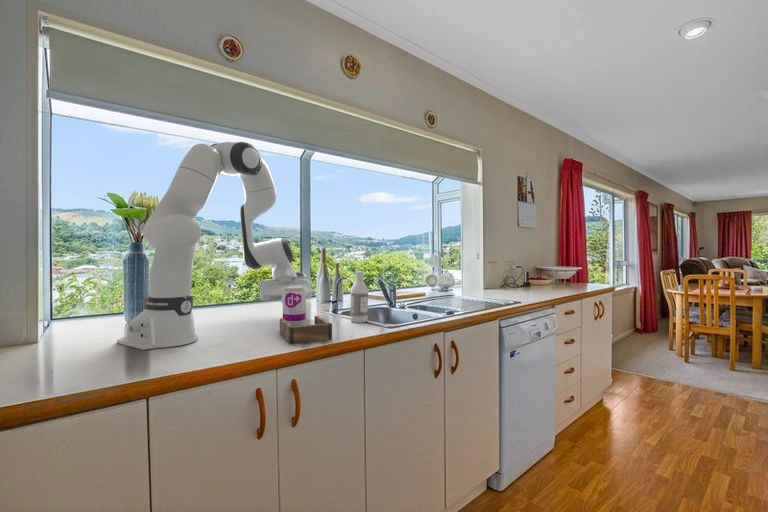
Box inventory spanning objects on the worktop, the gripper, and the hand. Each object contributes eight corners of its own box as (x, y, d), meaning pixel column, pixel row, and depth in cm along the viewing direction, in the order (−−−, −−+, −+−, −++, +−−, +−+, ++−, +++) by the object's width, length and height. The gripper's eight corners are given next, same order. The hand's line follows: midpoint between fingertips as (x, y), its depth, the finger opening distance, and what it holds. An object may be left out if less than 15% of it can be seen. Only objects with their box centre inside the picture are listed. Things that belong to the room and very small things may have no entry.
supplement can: (302, 330, 130) (303, 288, 130) (279, 329, 131) (279, 287, 130) (307, 325, 139) (308, 285, 138) (286, 324, 139) (286, 285, 138)
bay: (279, 333, 125) (279, 318, 125) (317, 329, 131) (317, 315, 131) (290, 344, 112) (290, 327, 112) (331, 339, 118) (332, 324, 118)
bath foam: (357, 323, 142) (358, 272, 142) (346, 321, 147) (347, 271, 147) (371, 321, 147) (371, 271, 147) (359, 318, 152) (360, 270, 152)
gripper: (258, 274, 143) (262, 303, 135) (309, 273, 152) (316, 300, 144) (256, 285, 147) (260, 313, 139) (306, 283, 156) (313, 309, 148)
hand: (289, 306), depth 141 cm, fingers closed
